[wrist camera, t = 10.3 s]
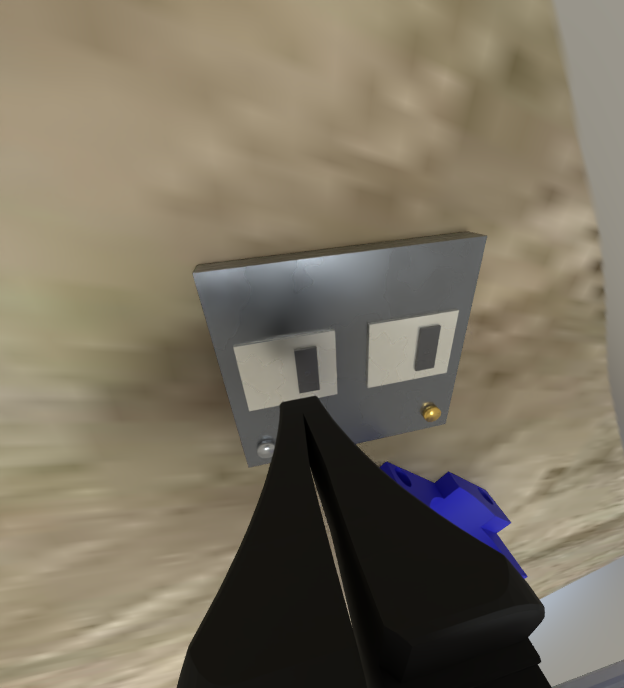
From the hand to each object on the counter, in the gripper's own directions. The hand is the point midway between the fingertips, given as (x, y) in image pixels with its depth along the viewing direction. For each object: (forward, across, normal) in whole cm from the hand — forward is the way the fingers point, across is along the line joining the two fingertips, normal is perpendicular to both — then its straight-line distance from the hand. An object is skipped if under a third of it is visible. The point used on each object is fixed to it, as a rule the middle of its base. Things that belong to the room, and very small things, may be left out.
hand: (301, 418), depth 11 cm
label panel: (+4, -3, 0) cm, 5 cm away
